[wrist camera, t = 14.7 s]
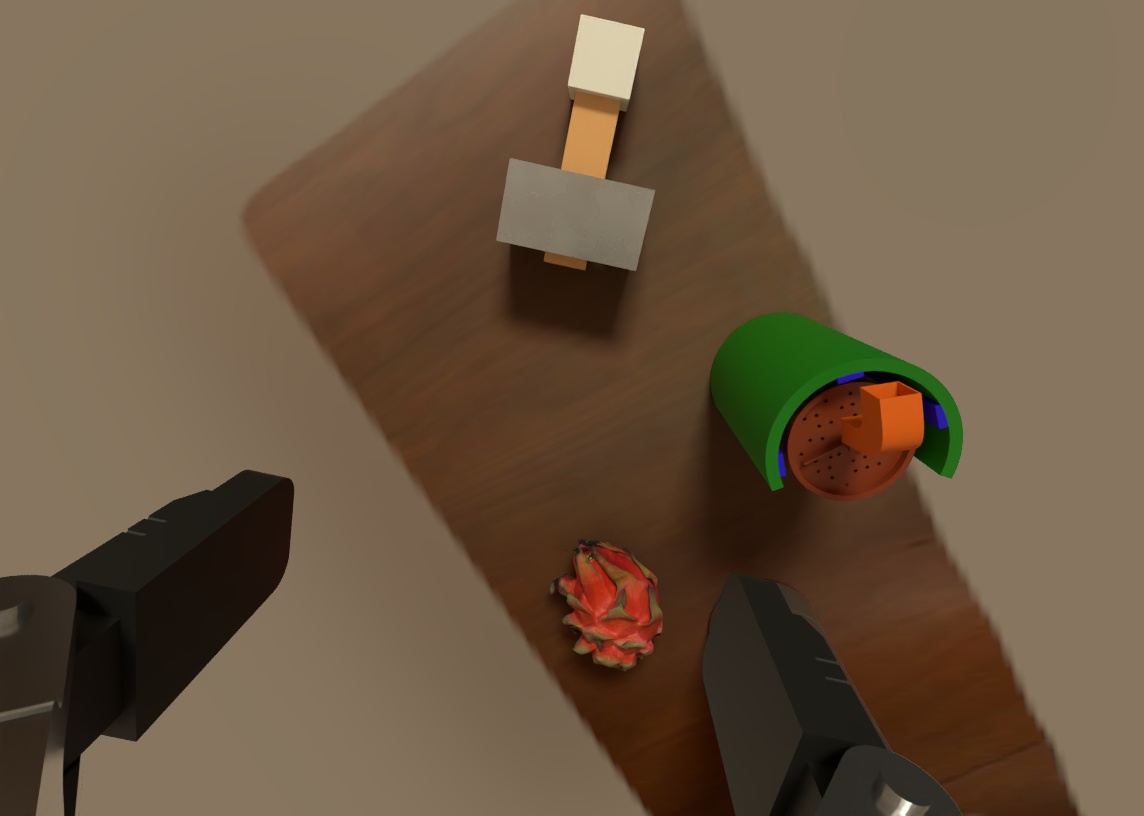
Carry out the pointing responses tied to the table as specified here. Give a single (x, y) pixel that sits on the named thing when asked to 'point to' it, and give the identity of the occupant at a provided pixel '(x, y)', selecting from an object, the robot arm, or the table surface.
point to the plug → (597, 99)
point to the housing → (574, 214)
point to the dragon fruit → (611, 604)
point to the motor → (831, 408)
